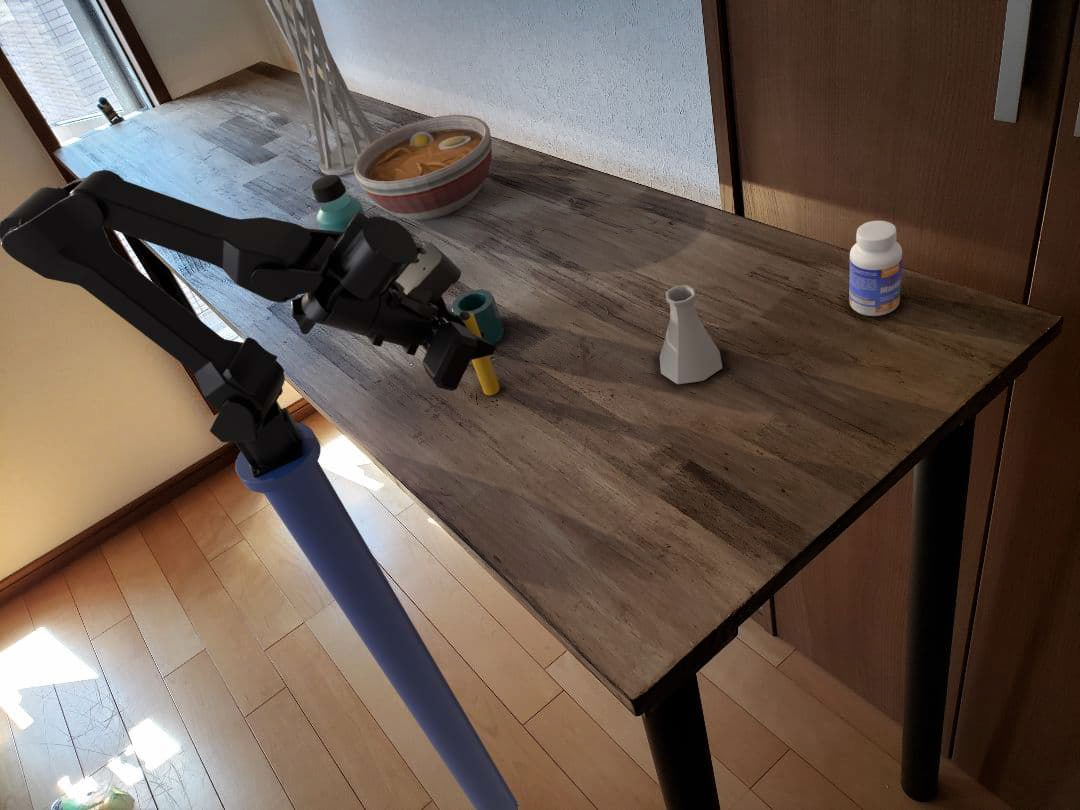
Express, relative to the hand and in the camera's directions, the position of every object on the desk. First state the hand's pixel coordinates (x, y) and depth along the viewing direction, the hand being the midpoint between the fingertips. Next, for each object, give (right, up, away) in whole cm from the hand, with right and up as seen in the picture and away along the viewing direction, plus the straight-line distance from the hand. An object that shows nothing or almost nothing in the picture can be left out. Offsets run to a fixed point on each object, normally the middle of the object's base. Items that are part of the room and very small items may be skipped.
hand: (488, 343), depth 97 cm
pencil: (0, -5, +4) cm, 7 cm away
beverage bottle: (-17, +7, +25) cm, 31 cm away
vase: (-30, +41, +67) cm, 84 cm away
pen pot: (-1, +2, +13) cm, 13 cm away
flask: (+23, -3, -1) cm, 23 cm away
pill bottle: (+45, +4, 0) cm, 45 cm away
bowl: (-11, +27, +44) cm, 53 cm away
